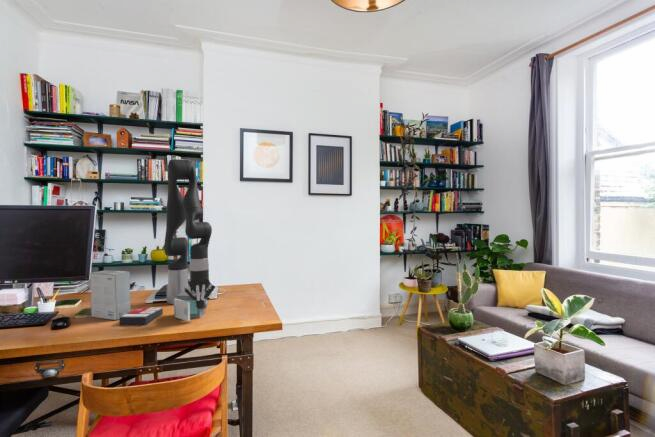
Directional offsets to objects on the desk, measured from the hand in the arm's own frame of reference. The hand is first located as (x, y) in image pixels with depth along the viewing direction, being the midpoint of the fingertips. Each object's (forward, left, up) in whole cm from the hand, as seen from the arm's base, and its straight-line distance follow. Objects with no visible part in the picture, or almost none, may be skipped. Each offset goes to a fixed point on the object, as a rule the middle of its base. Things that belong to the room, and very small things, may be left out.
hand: (200, 308), depth 145 cm
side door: (-7, -3, -4) cm, 8 cm away
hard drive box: (-43, -4, -6) cm, 43 cm away
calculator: (-26, -4, -6) cm, 27 cm away
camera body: (-7, +4, -5) cm, 10 cm away
